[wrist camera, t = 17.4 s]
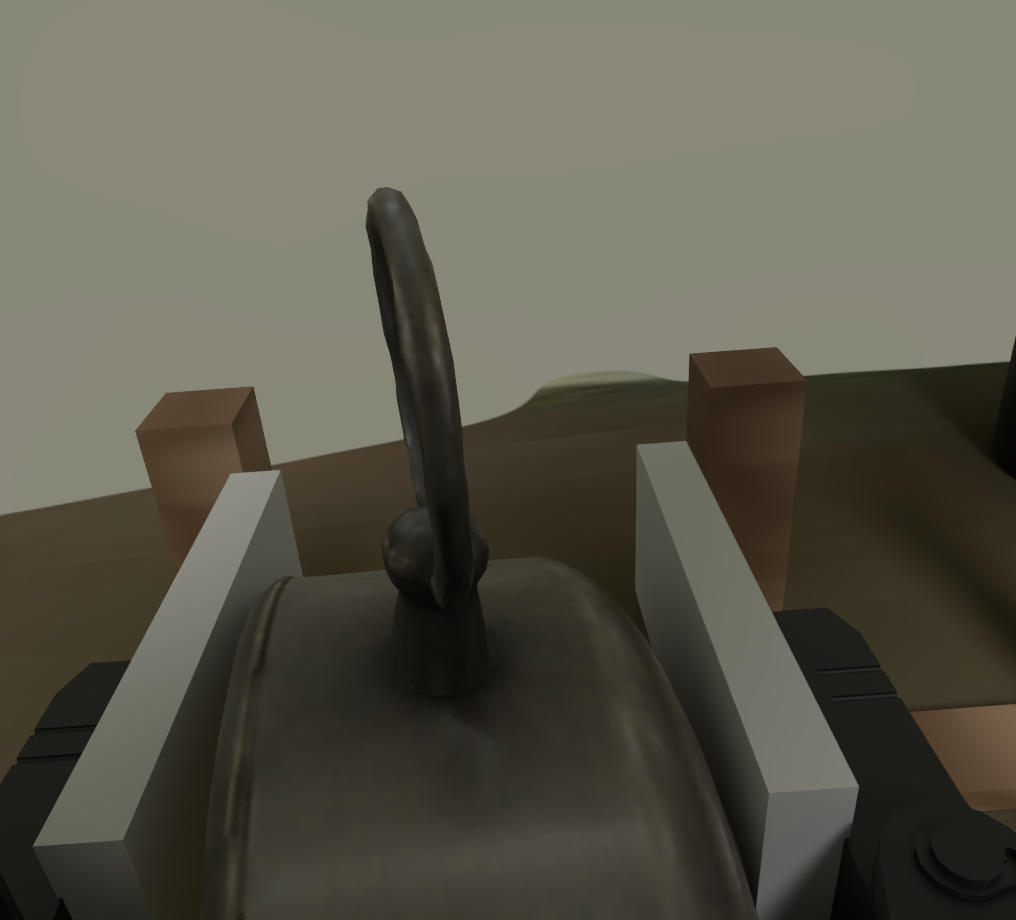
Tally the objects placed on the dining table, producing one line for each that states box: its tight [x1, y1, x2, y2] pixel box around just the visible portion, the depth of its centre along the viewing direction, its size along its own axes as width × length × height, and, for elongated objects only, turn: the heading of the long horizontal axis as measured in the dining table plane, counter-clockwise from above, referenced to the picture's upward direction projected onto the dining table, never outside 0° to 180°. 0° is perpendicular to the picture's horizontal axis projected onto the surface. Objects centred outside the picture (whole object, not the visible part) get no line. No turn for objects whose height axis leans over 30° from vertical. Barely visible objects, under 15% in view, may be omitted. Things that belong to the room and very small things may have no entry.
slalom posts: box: [135, 347, 1016, 811], centre depth 22 cm, size 26×3×13 cm, turn 92°
